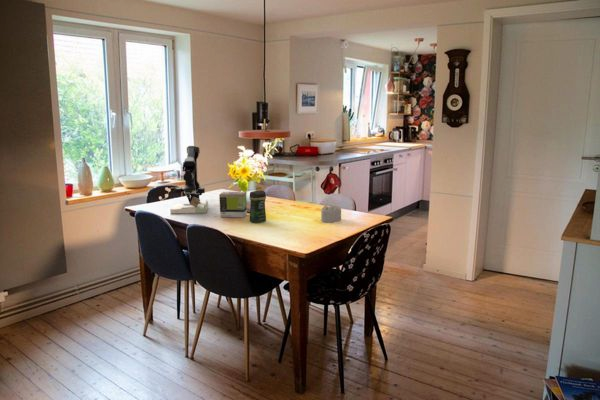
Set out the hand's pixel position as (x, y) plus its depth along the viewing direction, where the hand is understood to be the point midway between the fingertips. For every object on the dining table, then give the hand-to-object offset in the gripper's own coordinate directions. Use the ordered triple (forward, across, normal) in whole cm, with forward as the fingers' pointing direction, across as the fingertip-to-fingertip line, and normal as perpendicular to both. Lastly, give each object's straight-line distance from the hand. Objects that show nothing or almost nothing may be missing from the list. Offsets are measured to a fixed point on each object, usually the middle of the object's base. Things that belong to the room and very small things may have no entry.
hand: (190, 203), depth 306 cm
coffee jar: (+5, +44, -31) cm, 54 cm away
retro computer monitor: (+5, +29, -15) cm, 33 cm away
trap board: (+5, 0, +1) cm, 5 cm away
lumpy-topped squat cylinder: (+4, +87, -32) cm, 93 cm away
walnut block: (+1, +2, 0) cm, 2 cm away
